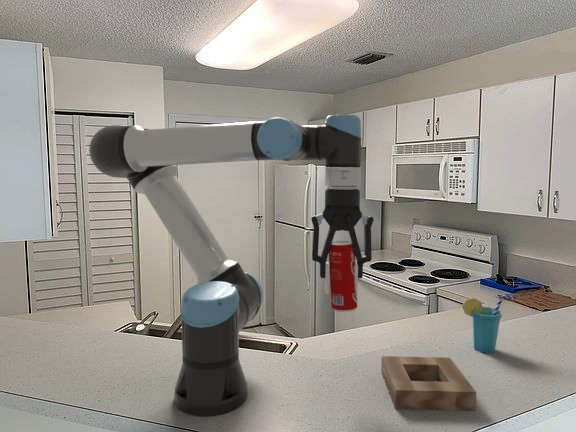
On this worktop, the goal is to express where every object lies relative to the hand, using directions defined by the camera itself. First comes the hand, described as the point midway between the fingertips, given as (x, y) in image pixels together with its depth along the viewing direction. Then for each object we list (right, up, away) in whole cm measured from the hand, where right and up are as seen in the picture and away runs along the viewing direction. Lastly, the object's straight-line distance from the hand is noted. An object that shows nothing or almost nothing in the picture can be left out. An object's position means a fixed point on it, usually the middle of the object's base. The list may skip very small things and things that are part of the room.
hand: (340, 292), depth 98 cm
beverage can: (0, -4, 0) cm, 4 cm away
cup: (+42, -19, +21) cm, 51 cm away
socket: (+18, -21, -1) cm, 28 cm away
